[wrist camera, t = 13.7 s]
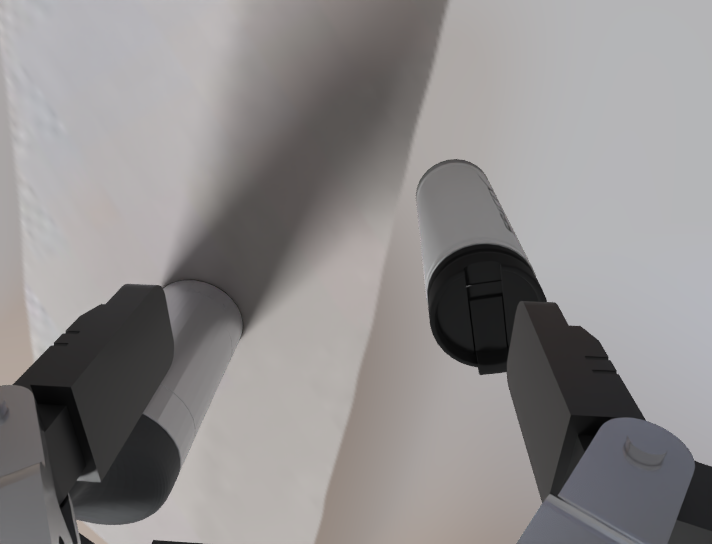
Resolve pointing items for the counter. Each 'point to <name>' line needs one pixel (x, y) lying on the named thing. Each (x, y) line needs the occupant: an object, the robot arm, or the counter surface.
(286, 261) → the counter surface
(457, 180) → the travel mug
